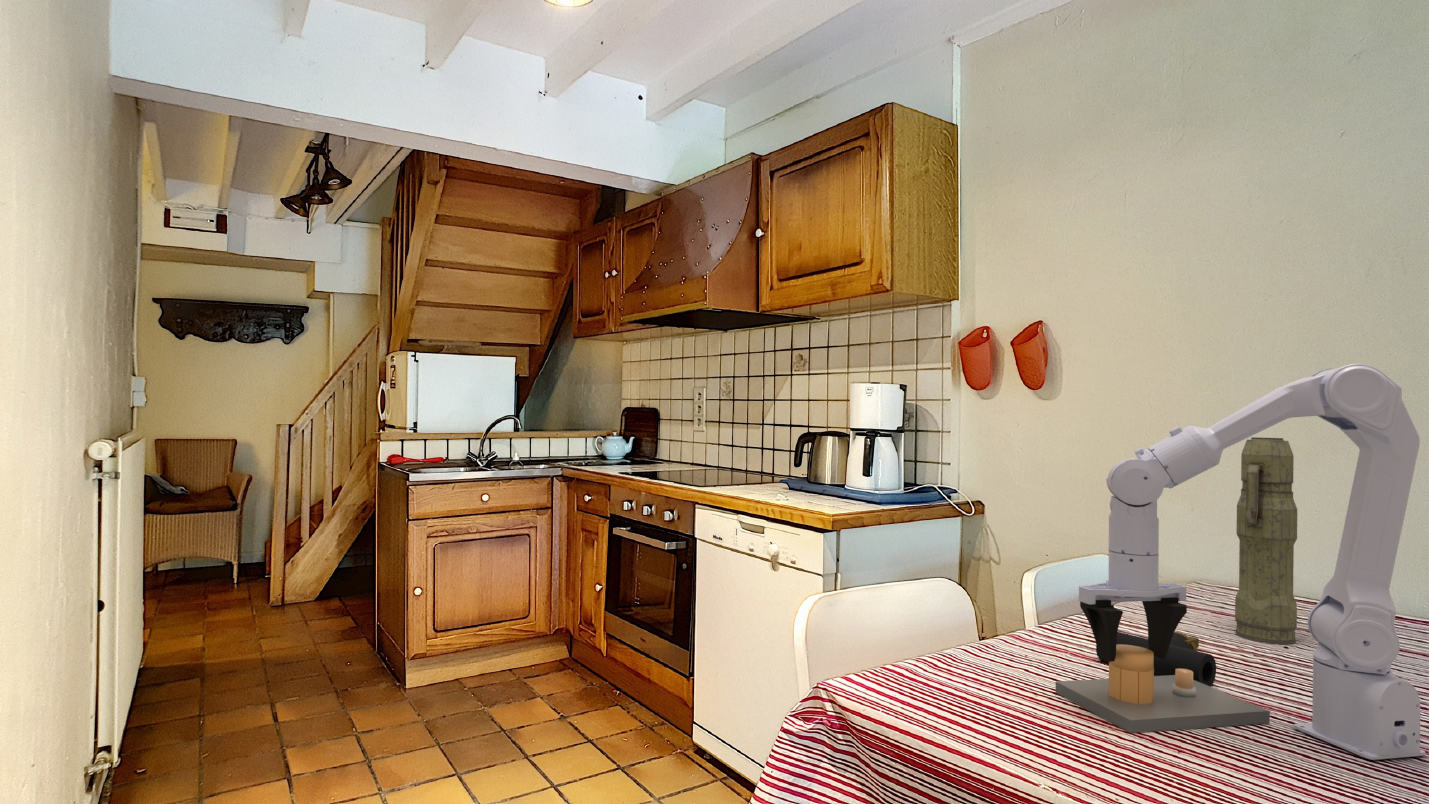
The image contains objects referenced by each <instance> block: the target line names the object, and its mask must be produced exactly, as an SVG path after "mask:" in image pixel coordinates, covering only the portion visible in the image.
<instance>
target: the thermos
mask: <svg viewBox="0 0 1429 804" xmlns="http://www.w3.org/2000/svg"><path fill="white" fill-rule="evenodd" d="M1250 438H1251V439H1246V441H1245V444H1244V446H1243V448H1242V450H1241V459H1240V460H1241V462H1240V463H1241V465H1240V466H1241V467H1240V468H1241V469H1240V475H1241V476H1240V480H1241V481H1242V483H1241V484H1242V485H1241V486H1242V488H1241V489H1240V496H1239V498H1238V501H1237V503H1236V533H1235V534H1236V536H1237V538H1238V539H1239V545H1238V546H1239V547H1238V549H1239V550H1238V551H1239V552H1238V553H1239V554H1238V556H1239V557H1238V559H1239V560H1238V563H1239V564H1238V566H1239V567H1238V571H1239V572H1238V591H1237V593H1236V595H1235V598H1234V599H1235V601H1234V606H1235V607H1234V619H1235V622H1236V629H1235V635H1237V636H1238V637H1239V638H1242V639H1245V640H1249V641H1254V642H1257V643H1263V644H1268V645H1269V644H1270V645H1271V644H1272V645H1280V646H1281V645H1285V646H1286V645H1287V646H1288V645H1294V644H1295V643H1296V640H1297V639H1296V630H1297V628H1298V626H1297V625H1298V624H1297V623H1298V608H1297V601H1296V598H1295V597H1294V562H1295V561H1294V558H1295V557H1294V556H1295V555H1294V553H1295V552H1294V550H1295V549H1294V547H1295V543H1296V541H1297V539H1298V507H1297V506H1296V503H1295V500H1294V491H1293V484H1294V453H1293V449H1292V447H1291V445H1290V442H1289V440H1284V438H1283V437H1252V436H1250Z"/></svg>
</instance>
